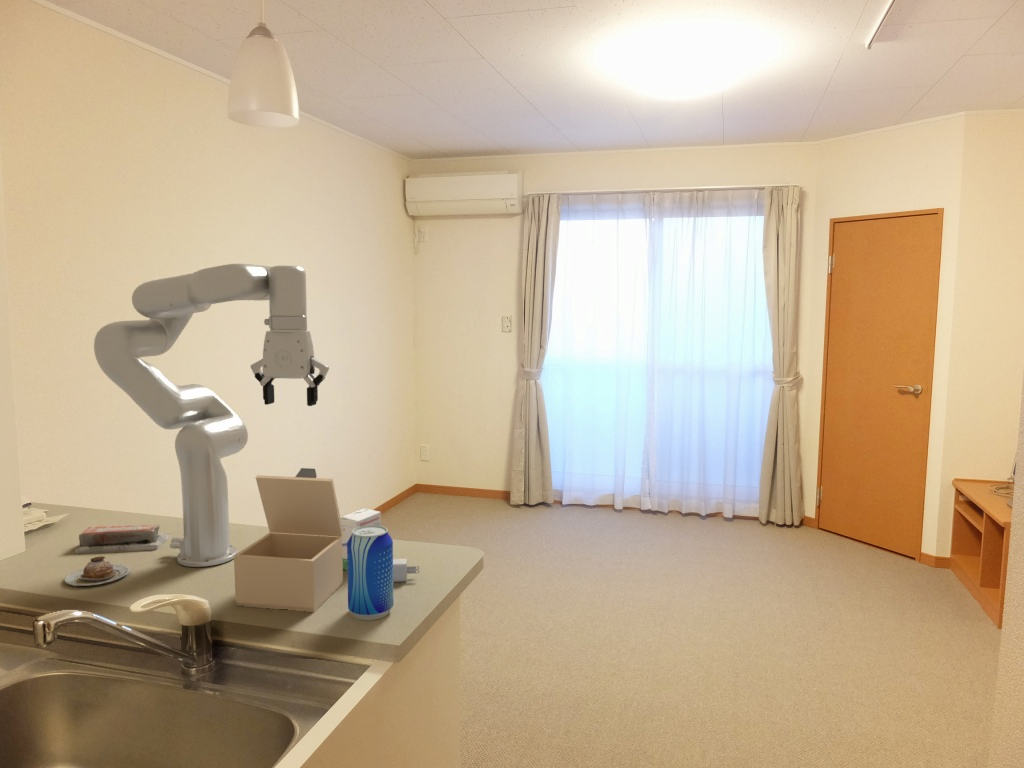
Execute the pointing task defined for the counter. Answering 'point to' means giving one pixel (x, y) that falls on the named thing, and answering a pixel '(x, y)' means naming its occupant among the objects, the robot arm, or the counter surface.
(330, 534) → the tan labeled panel
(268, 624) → the counter surface
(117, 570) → the pastry
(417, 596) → the counter surface
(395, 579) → the usb wall charger
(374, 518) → the ink box
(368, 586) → the beer can
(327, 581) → the carton
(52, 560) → the counter surface
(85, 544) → the packaged product
